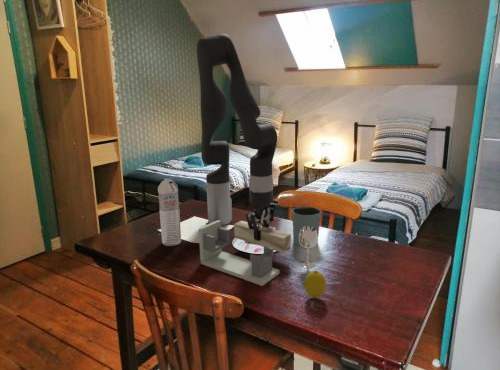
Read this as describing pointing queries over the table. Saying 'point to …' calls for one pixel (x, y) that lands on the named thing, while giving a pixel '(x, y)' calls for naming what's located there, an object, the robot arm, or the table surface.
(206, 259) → the bracket stand
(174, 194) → the water bottle
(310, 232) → the wineglass
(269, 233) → the rail
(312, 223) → the grey plant pot
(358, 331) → the table surface
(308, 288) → the lemon
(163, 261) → the table surface
